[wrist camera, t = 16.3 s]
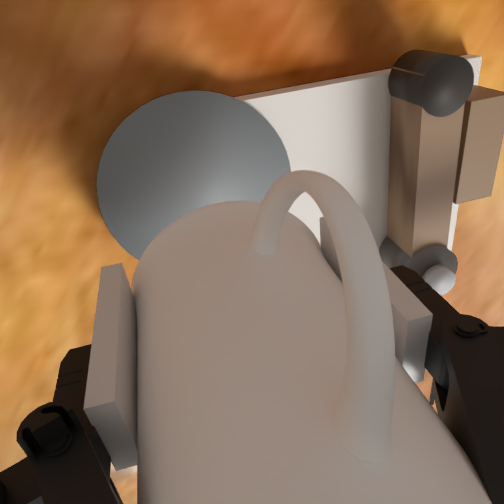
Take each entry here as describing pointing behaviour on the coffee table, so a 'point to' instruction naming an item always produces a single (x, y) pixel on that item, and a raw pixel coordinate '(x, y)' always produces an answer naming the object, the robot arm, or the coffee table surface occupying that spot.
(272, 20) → the coffee table surface
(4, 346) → the coffee table surface
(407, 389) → the mug
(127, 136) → the stand board
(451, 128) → the leg
